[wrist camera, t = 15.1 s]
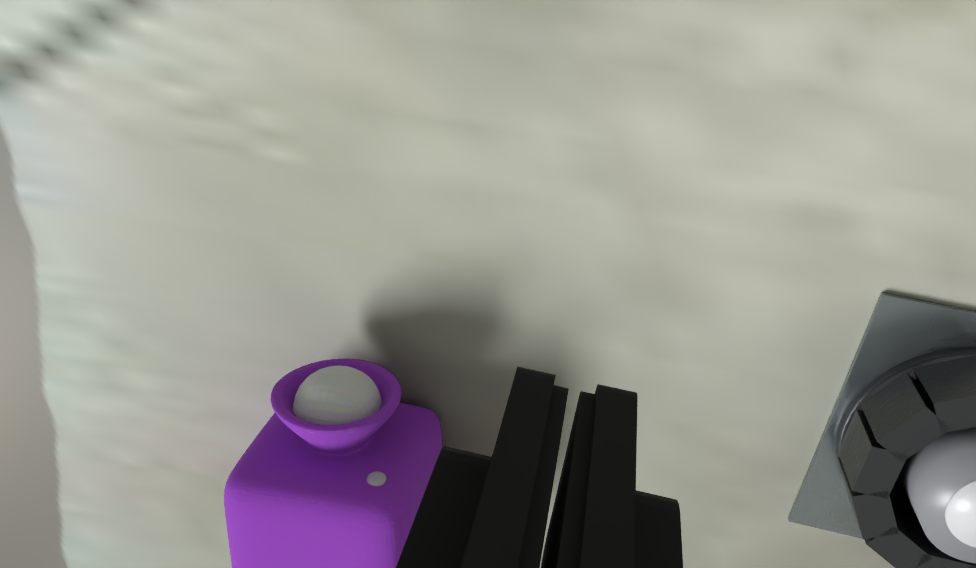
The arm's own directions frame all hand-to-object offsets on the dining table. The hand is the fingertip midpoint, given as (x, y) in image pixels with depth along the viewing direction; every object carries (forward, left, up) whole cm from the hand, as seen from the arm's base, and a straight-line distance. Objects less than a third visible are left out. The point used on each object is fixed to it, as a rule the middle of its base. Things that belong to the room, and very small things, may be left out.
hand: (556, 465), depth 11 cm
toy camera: (+22, -10, -27) cm, 36 cm away
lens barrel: (+14, +20, -27) cm, 36 cm away
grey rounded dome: (+14, +20, -26) cm, 35 cm away
